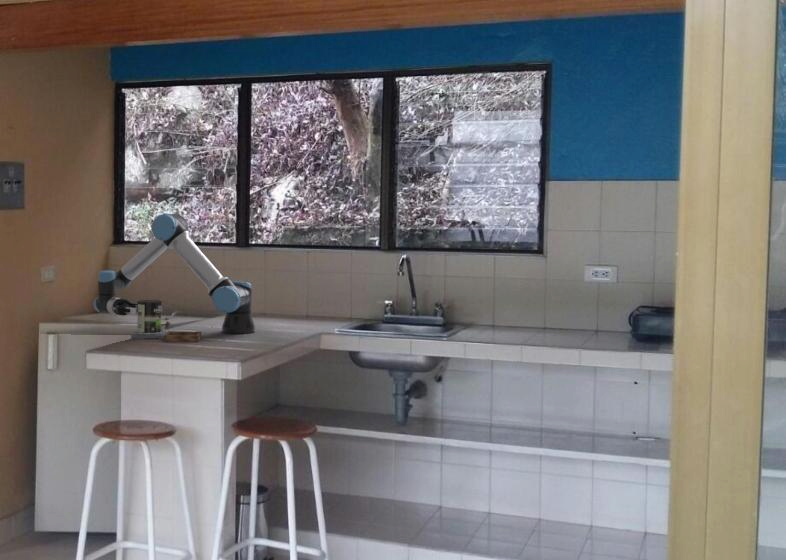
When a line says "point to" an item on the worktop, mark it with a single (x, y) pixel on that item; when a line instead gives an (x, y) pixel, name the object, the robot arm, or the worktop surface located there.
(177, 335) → the walnut collar
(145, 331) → the coffee can
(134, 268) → the robot arm
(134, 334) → the slate board
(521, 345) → the worktop surface
